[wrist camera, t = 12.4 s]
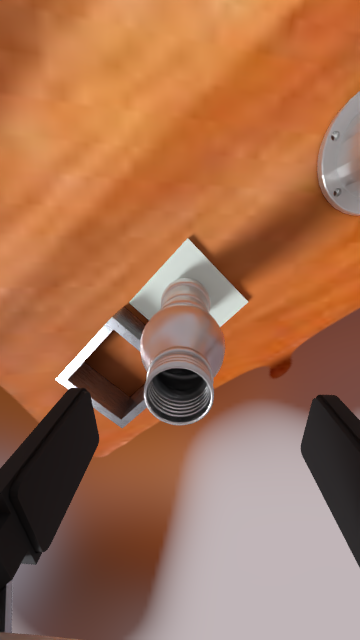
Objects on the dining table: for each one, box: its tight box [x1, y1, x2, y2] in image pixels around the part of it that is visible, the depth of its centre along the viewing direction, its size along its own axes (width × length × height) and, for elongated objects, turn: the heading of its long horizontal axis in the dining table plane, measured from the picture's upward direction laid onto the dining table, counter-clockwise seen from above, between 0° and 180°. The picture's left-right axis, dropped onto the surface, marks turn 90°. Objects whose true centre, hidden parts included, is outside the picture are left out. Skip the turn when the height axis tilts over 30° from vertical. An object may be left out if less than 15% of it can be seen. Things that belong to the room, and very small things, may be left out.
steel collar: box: [56, 307, 147, 428], centre depth 31 cm, size 13×12×5 cm
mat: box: [129, 238, 248, 327], centre depth 30 cm, size 12×12×1 cm
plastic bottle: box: [140, 278, 225, 425], centre depth 20 cm, size 6×7×20 cm
